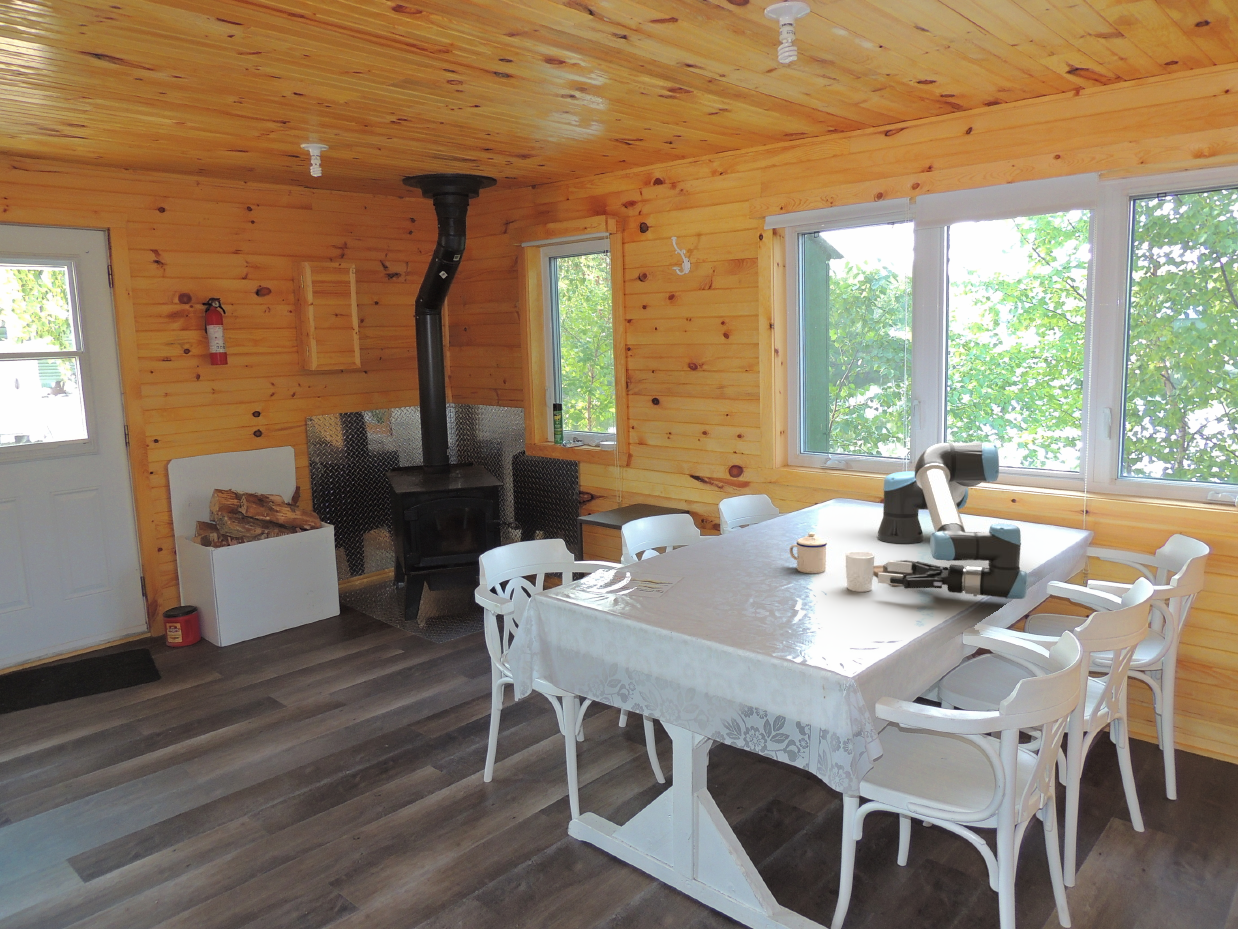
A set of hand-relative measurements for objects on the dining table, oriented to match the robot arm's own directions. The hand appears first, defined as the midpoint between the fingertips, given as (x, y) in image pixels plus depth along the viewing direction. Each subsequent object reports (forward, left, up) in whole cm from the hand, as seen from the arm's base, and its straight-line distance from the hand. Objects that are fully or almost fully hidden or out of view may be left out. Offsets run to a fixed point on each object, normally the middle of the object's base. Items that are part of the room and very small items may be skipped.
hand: (883, 571), depth 249 cm
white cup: (-4, -5, -6) cm, 9 cm away
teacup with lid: (-27, -12, -6) cm, 30 cm away
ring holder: (-13, +14, -6) cm, 20 cm away
